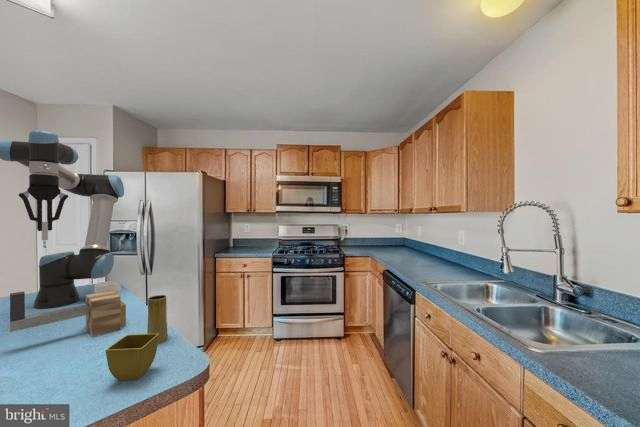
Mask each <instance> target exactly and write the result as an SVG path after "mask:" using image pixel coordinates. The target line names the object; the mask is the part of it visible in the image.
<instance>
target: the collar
mask: <svg viewBox="0 0 640 427" xmlns="http://www.w3.org/2000/svg"><path fill="white" fill-rule="evenodd" d="M126 308H127V305H126V303H124V302H123V301H122V300H120V316H121V328H122V327H126V326H127V310H126Z"/></svg>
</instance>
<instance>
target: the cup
mask: <svg viewBox="0 0 640 427" xmlns="http://www.w3.org/2000/svg"><path fill="white" fill-rule="evenodd" d="M93 287H94V289H93V293H98V292H103V291H109V290H113V291H114V292H116V293H117V294H118V295H119V296H120V297H121V291H122V287H121V281H120V280H119V281H118V280H110V281H109V280H108V281H103V282H99V283H96V284H94V286H93Z"/></svg>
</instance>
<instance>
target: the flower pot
mask: <svg viewBox="0 0 640 427" xmlns="http://www.w3.org/2000/svg"><path fill="white" fill-rule="evenodd" d="M158 337H159V334H147V333H139V334H138V333H136V334H126V335H124V336H123V337H121V338H120V339H118V340H117V341H115V342H114V343H113V344H112V345H110V346H108V347H107V348H106V349H105V355H106V362H107V367H108V370H109V372H110V374H111V375H112V376H113V378H114V379H115V380H117V381H119V382H122V381H138V380H140V379H141V378H142V377H143V376H144V375H145V373H146V372H148V371H149V369H150V368H151V366H152V365H153V362H154V360H155V358H156V356H157V351H158V344H159V343H158Z"/></svg>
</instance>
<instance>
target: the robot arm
mask: <svg viewBox="0 0 640 427" xmlns="http://www.w3.org/2000/svg"><path fill="white" fill-rule="evenodd" d="M0 159H1V160H2V161H5V162H7V161H8V162H17V163H19V164H21V165H23V166H25V167H26V168H28V170H29V171H28V172H29V175H28V178H29V179H28V182H29V183H28V184H29V186H28V188H27V189H26V191H23V192H20V193H19V194H18V197H19V198H20V199H21V200H22V202H23V205H24V206H25V209H26V212H27V215H28V218H29V220H30V221H34V222H36V230H37V232H41V241H49V231H52V230H53V222H54V221H58V220H59V219H60V216H61V213H62V210H63V208H64V204H65V201H66V200H67V199H68V198H69V195H68V194H65V193H63V192H62V191H61V189H62V190H63V191H65V192H69V193H71V194H74V195H78V196H80V197H81V196H82V197H89V199H90V200H92V205H91V210H90V217H89V220H88V226H87V227H88V228H87V232H86V237H85V242H84V246H83V247H82V248H80V249H79V250H78V251H79V252H78V254H75V252H74V251H65V252H57V253H51V254H47V255H46V254H45V255H43V256H41V257H40V258H39V261H38V262H39V263H38V270H39V271H38V275H39V277H38V278H39V280H38V281H39V283H38V284H39V289H38V292H37V294H36V296H35V299H34V301H33V308H36V309H51V308H58V307H63V306H68V305H70V304H71V305H72V304H73V303H76V302H78V301H79V300H80V293H79V292H78V289H77V288H76V285H75V280H87V279H89V280H90V279H92V280H95V279H101V278H106V277H107V276H109V274H110V273H111V272H112V270H113V267H114V262H115V260H114V259H115V257H114V254H112V253H111V249H109V248H108V244H109V236H110V230H111V224H112V217H113V212H114V206H115V204H116V203H118V201H119V198H123V197H124V195H125V187H124V183H123V180H122V179H121V177H120V176H118V175H115V174H112V175H111V174H88V173H77V172H75V171H73V170H68V169H67V168H65V167H63V166H62V165H67V166H70V165H73V164H76V162H77V161H78V160H79V154H78V151H77V150H76V149H74V148H73V147H71V146H69V145H67V144H63V143H61V142H60V140H59V136H58V134H56V133H54V132H51V131H46V130H31V131H29V135H28V141H17V140H15V141H14V140H1V141H0ZM29 194H30V195H29ZM29 196H31V197H32V198H34V199H35V200H36V217H35V215H34V212H33V208H32V205H31V204H30V201H29V199H28V198H29ZM57 197H58V198H59V200H58V204H57V206H56V210H55V213H54V216H53V200H55V199H56V198H57ZM43 201H46V221H43Z"/></svg>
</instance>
